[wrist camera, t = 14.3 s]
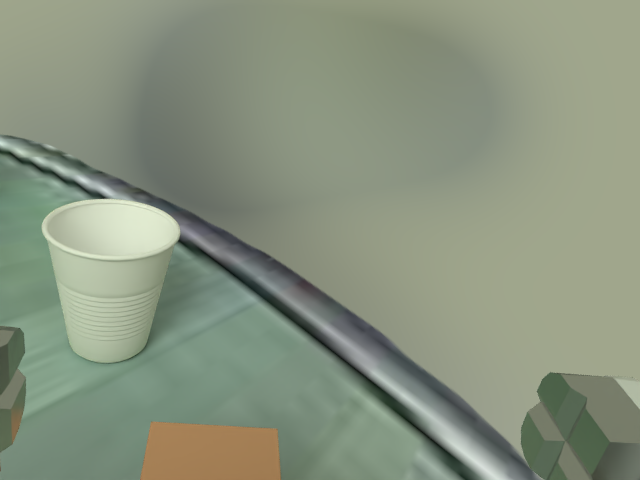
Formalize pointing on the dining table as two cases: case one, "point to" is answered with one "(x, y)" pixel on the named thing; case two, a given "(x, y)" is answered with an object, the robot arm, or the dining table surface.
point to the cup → (109, 272)
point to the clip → (210, 453)
